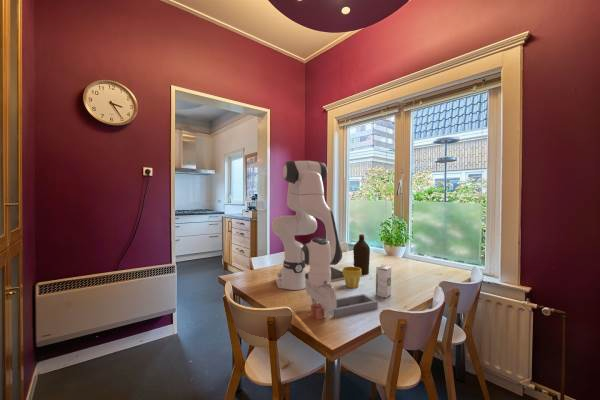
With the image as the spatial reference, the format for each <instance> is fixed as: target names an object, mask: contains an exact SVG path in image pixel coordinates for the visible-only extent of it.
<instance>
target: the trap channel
mask: <svg viewBox="0 0 600 400" xmlns="http://www.w3.org/2000/svg"><path fill="white" fill-rule="evenodd" d="M336 302H337V307H336V309H334V310H330V311H329V313H328V314H331V315H332V316H333V317H334V318H336V319H337V318H340V317H345V316H349V315H353V314H359V313H363V312H368V311H371V310H373V311H374V310H377V309H378V307H379V306H378V301H377V300H375V299H374V298H372V297H371V296H368V295H366V294H365V293H361V294H356V295H350V296H349V295H348V296H345V297H339V298H336Z"/></svg>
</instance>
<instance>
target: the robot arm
mask: <svg viewBox="0 0 600 400" xmlns="http://www.w3.org/2000/svg"><path fill="white" fill-rule="evenodd" d="M282 176H283V179H284V181H286V182H288V187H287V196H286V197H287V199H286V205H287V208H289V209H290V210H291V211H294V212H295V215H280V216H276V217H274V218H273V220H272V222H271V231H272V232H273V234H274V235H276V236H277V237H278V238H279V240H280V241H281V243H282V245H283V248H284V251H283V252H284V259H283V261H282V263H283V265H282V268H280V270H279V271H278V272H277V274H276V275H277V277H276V278H275V279H274V281H275V283H276V286H277V288H278V289H285V290H289V291H299V290H303V289H305V291H306V294H307V295H308V296H310V300H311V305H313V304H318V303H319V304H321V305H322V306H323V307H324V309H325V310H324V312H323V317H324V318H323V319H327V318H329V314H330V313H329V311H330V310H334V309H336V307H337V302H336V299H337V293H336V290H335V288H334V287H333V285H332V282H331V268H330V267H331V266H336V265H338V264H339V263H340V262H341V261H342V259H343V250H342V247H341V246H342V245H341V243H340V241H339V234H338V231H337V226H336V221H335V216H334V213H333V210H332V208H331V207H330V206H328V204H327V202H326V200H325V190H324V184H323V183H324V181H326V180H327V177H328V167H327V165H326V163H324V162H322V161H313V160H288V161H286V162H285V163H284V164H283V169H282ZM316 219H318V220H320V221H321V222H322V223H323V224H324V227H325V233H326V238H325V237H320V236H319V237H318V236H317V237H313V238H312V239H311V240H310V242H308V243H305V244H303V243H302V242H300V241H298V240H296V238H295V236H307V235H311V234H314V233H315V232H316V231H317V229H318V221H317V220H316ZM306 266H309V271H308V269H307V268H306Z"/></svg>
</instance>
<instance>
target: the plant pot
mask: <svg viewBox="0 0 600 400" xmlns="http://www.w3.org/2000/svg"><path fill="white" fill-rule="evenodd" d="M342 272H343V275H344V278H345V279H344V281H345V286H346V288H348V289H357V288H359V284H360V279H361V277H362V275H361V274H362V271H361V268H358V267H354V266H351V265H350V266H344V267H342Z"/></svg>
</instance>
